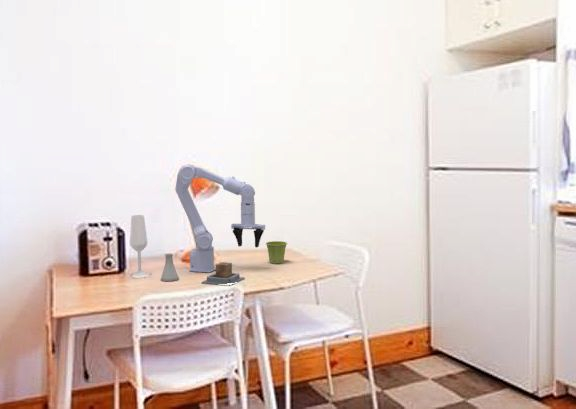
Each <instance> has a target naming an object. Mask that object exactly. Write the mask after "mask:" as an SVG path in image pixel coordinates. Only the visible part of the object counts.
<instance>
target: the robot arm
mask: <svg viewBox="0 0 576 409" xmlns="http://www.w3.org/2000/svg"><path fill="white" fill-rule="evenodd" d="M195 178H196V179H205V180H208V181H211V182H213V183H216V184H217V185H221V186H222V189H223V190H224V191H227V192H229V193H231V194H233V195H236V196H241V199H240V223H232V224H231V225H230V227H231V230H232V233H233V235H234V236H235V239H236V242H237V246H238V247H243V232H244V231H243V230H253V236H254V248H259V247H260V241H261V239H262V236H263V234H264V231H265V230H266V224H257V223H256V210H255V209H256V204H255V195H256V191H255V188H254V187H253V186H252V185H251V184H250V183H249V184H248V183H246V181H241V180H238V179H236V177H235V176H227V177H223V176H221V175H219V174H216V173H214V172H213V171H211V170H208V169H205V168H203V167H199V166H195V165H193V164H185V165H183V166H182V167H181V168H180V170H179V171H178V172H177V177H176V182H175V192H176V195H177V197H178V199H179V201H180V203H181V206H182V208H183V210H184V212H185V214H186V216H187V219H188V221H189V223H190V225H191V227H192V229H193V233H194V235H195V238H196V239H195V240H196V242H195V243H196V247H195V248H192V249H191V250H190V253H189V270H188V271H189V272H197V273H199V272H200V273H211V272H213V271H216V266H215V248H214V246H213V239H214V238H213V235H212V233H211V232H210V231H208V229H207V227H206V226H205V224H204V221H203V219H202V217H201V215H200V213H199V211H198V209H197V206H196V204H195V202H194V200H193V198H192V195H191V193H190V191H189V188H190V185H191V182H193V180H194V179H195Z"/></svg>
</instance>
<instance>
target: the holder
mask: <svg viewBox="0 0 576 409" xmlns="http://www.w3.org/2000/svg"><path fill="white" fill-rule="evenodd" d="M243 280H245V277H244V276H240V273H239V272H238V273H237V272H232V276H231V277H229V278H217V277H216V272H214V273H212V274H209V275H208V276H206V279H205V280H202V281H201V284H203V285H215V286H219V285H218V284H227V283H235V282H237V283H239V282H242V281H243ZM235 284H236V283H235Z"/></svg>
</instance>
